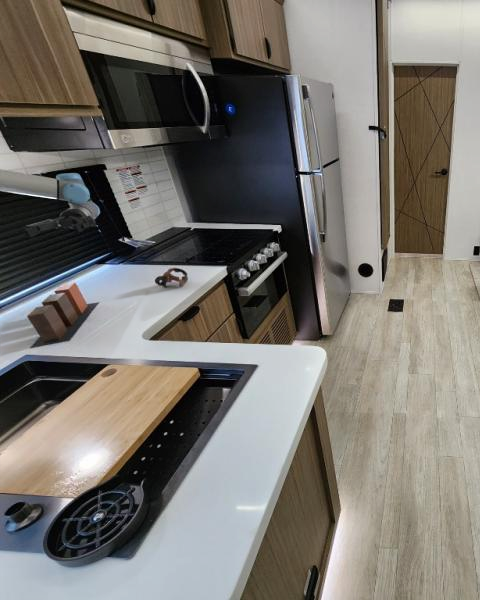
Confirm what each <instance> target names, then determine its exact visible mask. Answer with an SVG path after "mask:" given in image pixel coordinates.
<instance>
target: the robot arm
mask: <svg viewBox="0 0 480 600" xmlns="http://www.w3.org/2000/svg"><path fill="white" fill-rule="evenodd" d="M0 192H4V193H12V194H18V195H25V196H26V195H27V196H32V197H40V198H47V199H53V200H54V199H55V200H59V201H64V202H65V201H66V202H67V203H68V205H69V208H67V209H65V210H63V211H62V212H61V213H60V214H59V217H58V218H53V219H51V218H48V219H46V220H42V221H38V222H35V223H31V224H27V225H25V226H24V228H25V229H24V230H23V233H24V234H25V235H26V238H27V239H31V238H33V237H35V236H37V235H39V234H40V233H41V232H45V231H49V230H53V229H63V228H69V229H73V230H74V231H75V233H76V234H80V233H82V232H83V231H85V229H90V228H91V227H93V228H97V224H96V221H95V220H96V219H97V218H98V216H99V215H100V214H101V210H100V207H99V206H98V205H97V204H96V203H95V202H93V200H92V198H91V197H90V196H91V193H90V190H89V189H88V187H86V184H85V183H84V180H83V179H82V176H81V175H80V174H79V173H77V172H69V173H59V174H57V175H56V176H55V178H54V177H53V178H52V177H47V176H42V175H35V174H30V173H24V172H18V171H13V170H7V169H2V168H0Z"/></svg>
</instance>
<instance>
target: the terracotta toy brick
mask: <svg viewBox="0 0 480 600" xmlns="http://www.w3.org/2000/svg"><path fill="white" fill-rule="evenodd" d="M60 293H65V294H66V296H67V298H68V299H69V301H70V303H71V305H72V306H73V308H74V310H75V312H76V313H77V314H81V313H83V311H84V310H85V309H86V308H87V307H88V305H87V304H88V303H87V301H86V299H85V297H84V296H83V294H82V292H81V290H80V287H79V286H78V284H77V282H68V283H62V284H60V285H59V286H58V287H57V288H56V289H55V290H54V294H60Z"/></svg>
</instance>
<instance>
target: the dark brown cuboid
mask: <svg viewBox="0 0 480 600" xmlns="http://www.w3.org/2000/svg"><path fill="white" fill-rule="evenodd" d="M26 317H27V319H28V321H29V322H30V323H31V325H32V327H33V328H34V329H35V331H36V332H37V334H38V336H39V337H41V339H42V340H43V342H44V343H45V342H51V341H56V340H60V339H61V338H62V337H63V335H64V334H65V333H66V332H67V331H68V330H67V328H66V327H65V325H64V323H63V322H62V320H61V318H60V317H59V315H58V313H57V312H56V310H55V308H54V307H53V305H47V306H43V305H42V306H36V307H35V308H34V309H32V311H30V313H28V314H27V315H26Z"/></svg>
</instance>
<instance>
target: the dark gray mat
mask: <svg viewBox="0 0 480 600" xmlns="http://www.w3.org/2000/svg"><path fill="white" fill-rule="evenodd" d="M99 304H100V301H99V302H92V303H87V305H88V307H87V308H86V309H85V310H84V311H83V313H81V314H77V315H78V317H79V318H78V319H77V320H76V321H75V322H74V324H73V325H72V326H67V327H66V328H67V330H68V331H67V332H66V333H65V334H64V335H63V337H62V338H61V339H60V340H56V341H51V342H45V343H44V342H43V340H42V339H41V337H40V336H39V337H38V338H37V339H36V341H35V342H34V343H32V345H31V346H30V347H29V349H35V348H39V347H45V346H50V345H51V346H52V345H55V344H61V343H67V342H70V341H71V340H72V339H73V337H74V336H75V335H76V334H77V332H78V331H79V329H80V328H81V327H82V326H83V325H84V323H85V322H86V321H87V319H88V318H89V317H90V315H91V314H92V313H93V311H94V310H95V309H96V308H97V306H99Z"/></svg>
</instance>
